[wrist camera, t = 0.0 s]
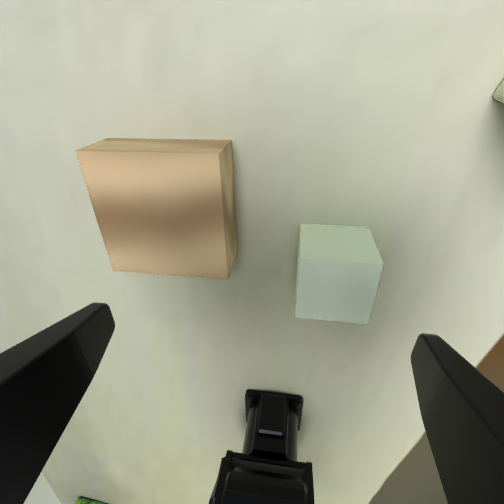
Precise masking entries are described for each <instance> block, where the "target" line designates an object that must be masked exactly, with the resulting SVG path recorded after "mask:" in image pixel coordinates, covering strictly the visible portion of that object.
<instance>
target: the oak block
mask: <svg viewBox="0 0 504 504" xmlns="http://www.w3.org/2000/svg"><path fill="white" fill-rule="evenodd" d="M75 152H76V155H77V159H78V162H79V165H80V168H81V171H82V174H83V178H84V181H85V184H86V187H87V190H88V193H89V196H90V200H91V203H92V206H93V209H94V212H95V215H96V219H97V222H98V225H99V228H100V231H101V234H102V237H103V241H104V244H105V247H106V250H107V253H108V256H109V260H110V263H111V266H112V269H113V271H120V272H134V273H148V274H161V275H175V276H189V277H203V278H216V279H228V278H229V275H230V272H231V269H232V266H233V263H234V260H235V257H236V254H237V244H236V224H235V204H234V184H233V164H232V144H231V140H199V139H125V138H107V139H104V140H102V141H99V142H97V143H94V144H92V145H89V146H86V147H84V148H81V149H79V150H76V151H75Z"/></svg>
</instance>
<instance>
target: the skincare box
mask: <svg viewBox="0 0 504 504" xmlns="http://www.w3.org/2000/svg"><path fill="white" fill-rule="evenodd" d="M493 98H494V99H495V100H497V101H499V102H502V103H504V79H503V81H502V82H501V83H500V85H499V86H498V88H497V89H496V91H495V92H494V94H493Z"/></svg>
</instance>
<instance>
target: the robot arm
mask: <svg viewBox="0 0 504 504" xmlns="http://www.w3.org/2000/svg"><path fill="white" fill-rule="evenodd" d="M114 329H115V322H114V319H113V316H112V313H111V310H110V307H109V306H108V305H107V304H105V303H92V304H90V305H88V306H86V307H84V308H83V309H81V310H79V311H77V312H75V313H73V314H72V315H70V316H68V317H66V318H64V319H62V320H61V321H59V322H57V323H55V324H53V325H52V326H50V327H48V328H46V329H44V330H42V331H41V332H39V333H37V334H35V335H33V336H31V337H30V338H28V339H26V340H24V341H22V342H20V343H19V344H17V345H15V346H13V347H11V348H10V349H8V350H6V351H4V352H2V353H0V504H23V503H24V501H25V499H26V498H27V496H28V494H29V492H30V491H31V489H32V487H33V485H34V483H35V482H36V480H37V478H38V476H39V475H40V473H41V471H42V469H43V467H44V466H45V464H46V462H47V460H48V458H49V457H50V455H51V453H52V451H53V449H54V448H55V446H56V444H57V442H58V440H59V439H60V437H61V435H62V433H63V431H64V430H65V428H66V426H67V424H68V422H69V421H70V419H71V417H72V415H73V413H74V412H75V410H76V408H77V406H78V404H79V403H80V401H81V399H82V397H83V395H84V394H85V392H86V390H87V388H88V387H89V385H90V383H91V381H92V379H93V377H94V375H95V373H96V371H97V369H98V366H99V364H100V362H101V359H102V357H103V355H104V353H105V350H106V348H107V346H108V343H109V341H110V339H111V336H112V334H113V332H114ZM411 364H412V369H413V374H414V380H415V385H416V390H417V395H418V401H419V406H420V411H421V415H422V420H423V423H424V427H425V430H426V433H427V437H428V440H429V443H430V446H431V450H432V453H433V456H434V459H435V463H436V466H437V469H438V472H439V475H440V479H441V482H442V485H443V489H444V492H445V495H446V498H447V502H448V504H504V393H503V392H502V391H501V390H500V389H499V388H498V387H497V386H495V385H494V384H493V383H492V382H491V381H490V380H488V379H487V378H486V377H485V376H484V375H483V374H482V373H480V372H479V371H478V370H477V369H476V368H475V367H474V366H473V365H471V364H470V363H469V362H468V361H467V360H466V359H465V358H463V357H462V356H461V355H460V354H459V353H458V352H457V351H455V350H454V349H453V348H452V347H451V346H450V345H449V344H447V343H446V342H445V341H444V340H443V339H442V338H441V337H439V336H438V335H434V334H424V333H423V334H420V335H419V336H418V338H417V341H416V343H415V346H414V348H413V351H412V354H411ZM245 402H246V422H247V426H246V433H245V439H244V446H243V452H242V453H236V452H233V451H230V450H227V453H226V457H224V458H222V461H221V465H220V470H219V474H218V478H217V481H216V484H215V486H214V489H213V492H212V495H211V497H210V501H209V504H314V489H313V473H312V463H311V462H306V463H304V462H297V431H299V430H300V422H301V414H302V406H303V398H302V397H300V396H294V395H285V394H277V393H269V392H260V391H252V390H247V391H246V394H245Z"/></svg>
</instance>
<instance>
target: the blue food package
mask: <svg viewBox="0 0 504 504" xmlns="http://www.w3.org/2000/svg"><path fill="white" fill-rule="evenodd" d="M75 504H106V503H103V502H100V501H97V500H90V499H85V498H81V497H78V499H77V501H76V503H75Z"/></svg>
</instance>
